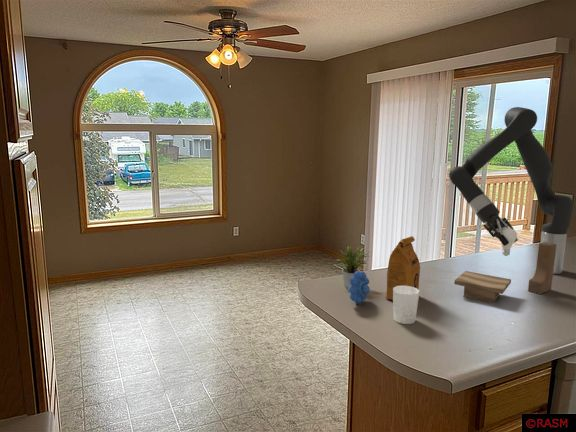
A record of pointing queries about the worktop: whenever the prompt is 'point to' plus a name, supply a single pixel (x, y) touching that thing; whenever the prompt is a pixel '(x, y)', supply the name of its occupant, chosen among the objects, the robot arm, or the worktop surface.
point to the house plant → (351, 264)
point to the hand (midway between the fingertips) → (511, 242)
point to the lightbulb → (511, 237)
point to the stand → (482, 285)
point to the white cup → (405, 304)
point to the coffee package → (403, 267)
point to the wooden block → (543, 269)
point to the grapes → (358, 287)
